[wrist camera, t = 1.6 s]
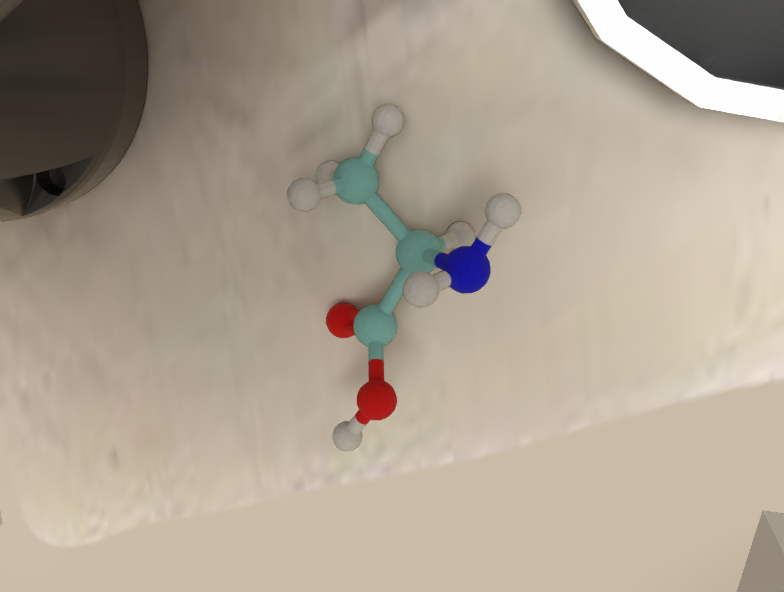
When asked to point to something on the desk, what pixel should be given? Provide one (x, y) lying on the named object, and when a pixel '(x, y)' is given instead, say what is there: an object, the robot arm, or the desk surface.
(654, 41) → the shallow grey dish
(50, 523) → the desk surface
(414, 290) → the molecular model
